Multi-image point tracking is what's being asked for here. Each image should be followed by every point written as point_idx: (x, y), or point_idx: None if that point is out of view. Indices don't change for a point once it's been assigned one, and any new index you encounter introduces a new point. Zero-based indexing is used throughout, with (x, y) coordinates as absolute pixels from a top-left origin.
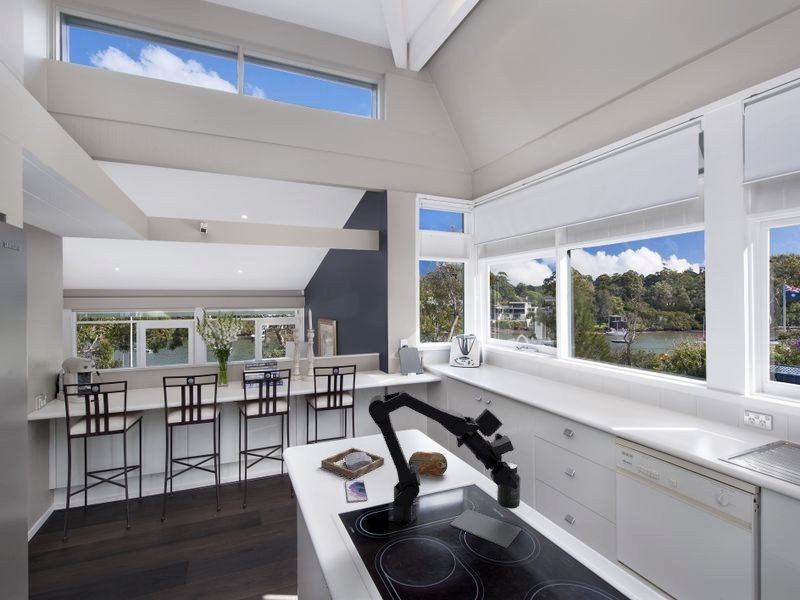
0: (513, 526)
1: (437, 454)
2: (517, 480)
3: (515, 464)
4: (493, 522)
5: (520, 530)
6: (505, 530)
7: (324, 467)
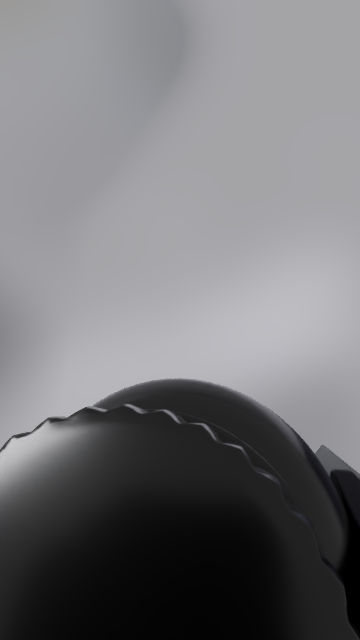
0: None
1: None
2: (321, 465)
3: (70, 426)
4: None
5: (335, 455)
6: None
7: None
